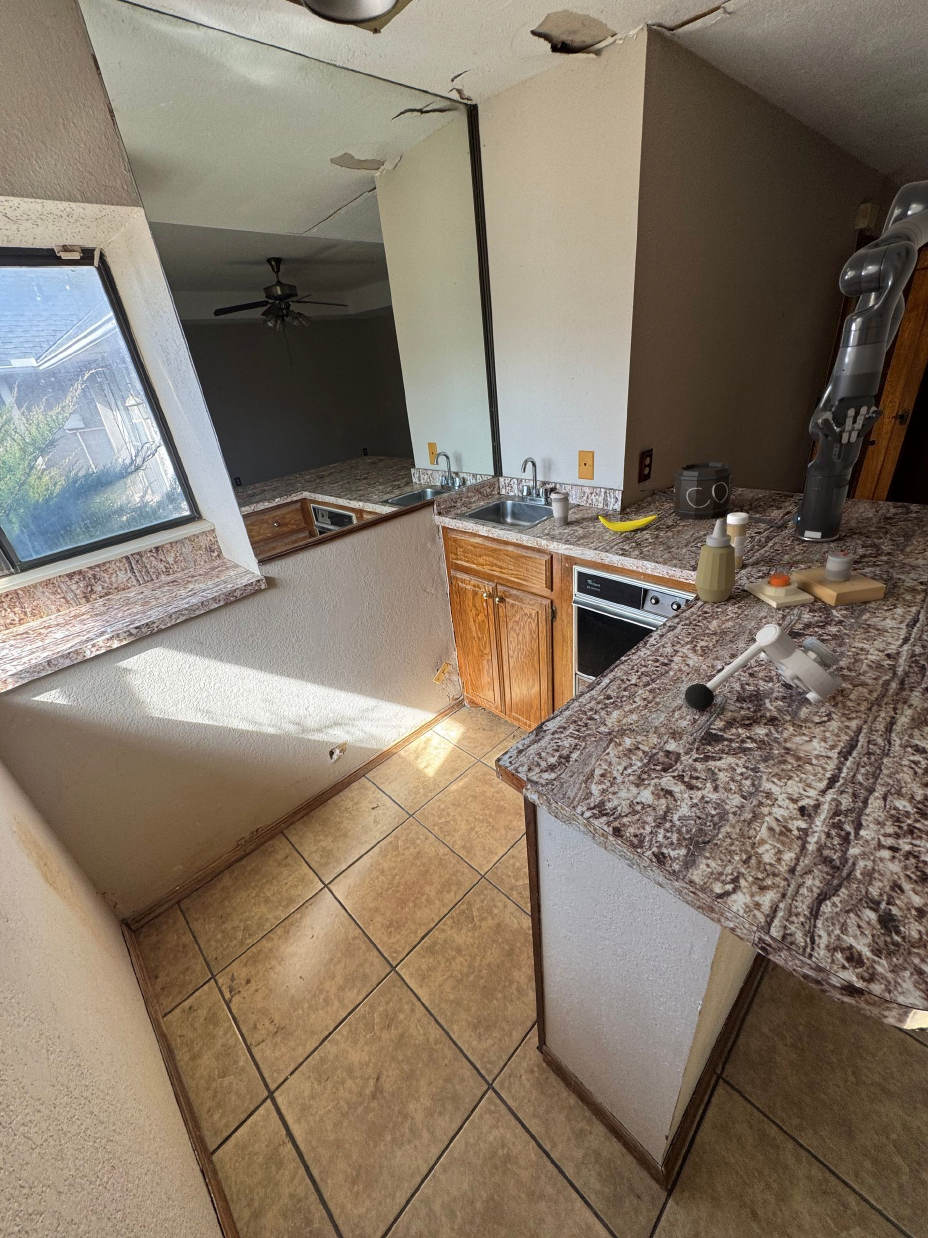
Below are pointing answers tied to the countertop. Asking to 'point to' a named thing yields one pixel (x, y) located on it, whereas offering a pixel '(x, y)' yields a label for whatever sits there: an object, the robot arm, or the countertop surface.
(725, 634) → the countertop surface
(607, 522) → the banana
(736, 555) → the sprinkles bottle
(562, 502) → the cup
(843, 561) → the knob
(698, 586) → the squeeze bottle
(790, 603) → the button block
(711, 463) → the octagonal grey canister
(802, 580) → the panel
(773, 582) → the button
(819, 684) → the valve
